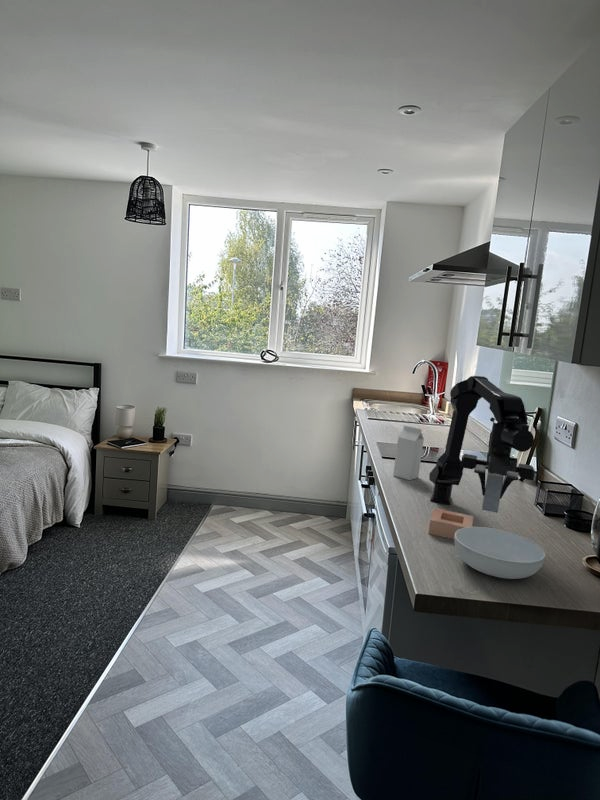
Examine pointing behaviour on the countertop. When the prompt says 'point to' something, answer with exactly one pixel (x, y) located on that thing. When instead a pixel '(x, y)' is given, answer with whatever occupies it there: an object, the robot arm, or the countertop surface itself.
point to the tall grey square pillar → (492, 492)
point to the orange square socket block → (448, 522)
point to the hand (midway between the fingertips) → (491, 496)
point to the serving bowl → (499, 552)
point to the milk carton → (408, 453)
